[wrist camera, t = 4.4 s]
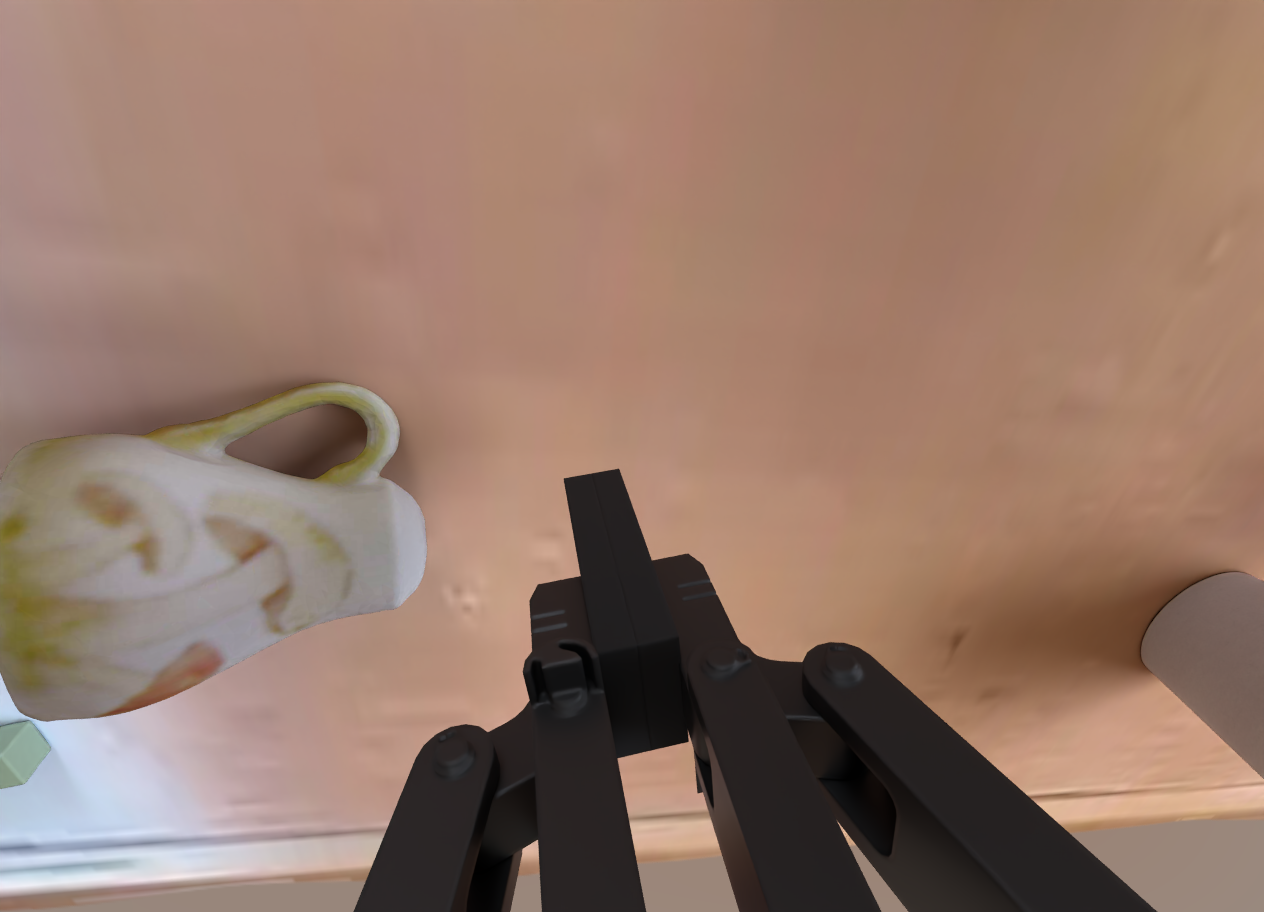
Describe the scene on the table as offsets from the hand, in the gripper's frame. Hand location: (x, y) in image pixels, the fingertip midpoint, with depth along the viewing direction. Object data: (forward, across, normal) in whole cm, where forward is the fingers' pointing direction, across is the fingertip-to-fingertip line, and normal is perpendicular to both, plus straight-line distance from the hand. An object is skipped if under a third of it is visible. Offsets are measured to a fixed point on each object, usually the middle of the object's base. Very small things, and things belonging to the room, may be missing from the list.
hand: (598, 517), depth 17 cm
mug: (+5, -10, 0) cm, 11 cm away
